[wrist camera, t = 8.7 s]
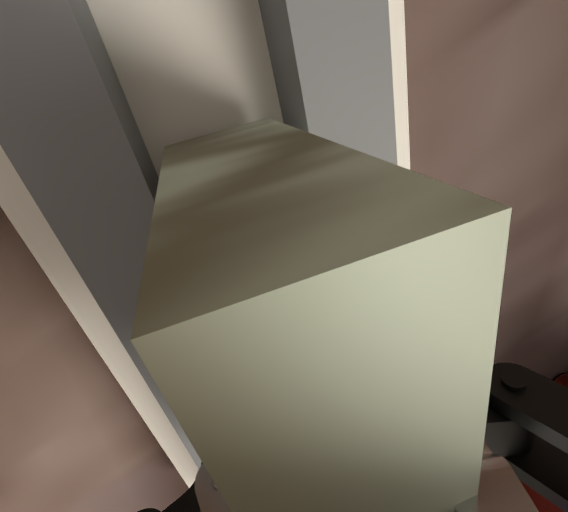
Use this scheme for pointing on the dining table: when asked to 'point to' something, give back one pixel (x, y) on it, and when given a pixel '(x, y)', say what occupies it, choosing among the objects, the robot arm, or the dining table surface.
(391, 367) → the door panel
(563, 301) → the dining table surface
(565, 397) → the robot arm
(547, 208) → the dining table surface
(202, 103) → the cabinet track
